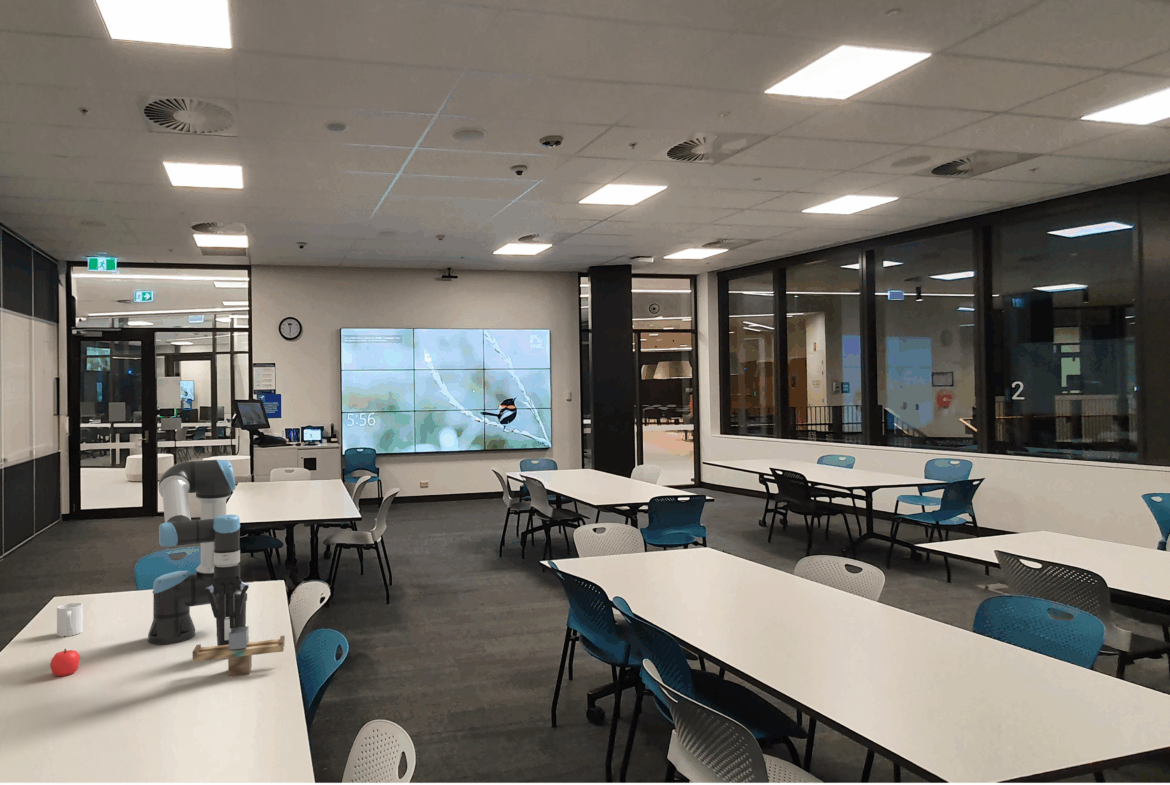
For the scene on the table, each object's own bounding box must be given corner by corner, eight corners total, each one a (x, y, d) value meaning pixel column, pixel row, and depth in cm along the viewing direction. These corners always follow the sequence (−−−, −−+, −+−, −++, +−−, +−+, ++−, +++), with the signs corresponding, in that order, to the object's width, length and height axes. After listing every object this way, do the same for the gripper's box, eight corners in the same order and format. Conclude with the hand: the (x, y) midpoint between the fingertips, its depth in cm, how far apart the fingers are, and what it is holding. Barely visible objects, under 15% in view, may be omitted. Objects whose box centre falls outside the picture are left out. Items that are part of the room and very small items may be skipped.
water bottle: (254, 650, 257) (253, 584, 257) (229, 660, 247) (228, 591, 248) (233, 646, 261) (233, 581, 261) (208, 656, 252) (207, 588, 252)
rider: (229, 656, 233) (228, 633, 233) (231, 649, 239) (231, 628, 239) (246, 654, 234) (246, 632, 235) (248, 647, 241) (248, 626, 241)
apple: (77, 667, 243) (77, 642, 243) (83, 673, 237) (82, 648, 237) (47, 673, 237) (47, 648, 237) (52, 680, 231) (52, 654, 231)
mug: (57, 632, 279) (57, 605, 279) (83, 629, 283) (82, 601, 283) (55, 641, 269) (55, 612, 269) (81, 637, 273) (81, 609, 273)
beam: (192, 681, 229) (192, 652, 229) (196, 672, 236) (196, 644, 236) (283, 670, 237) (283, 642, 237) (284, 662, 244) (284, 635, 244)
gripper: (202, 568, 230) (202, 644, 230) (248, 565, 234) (248, 640, 234) (206, 563, 237) (206, 637, 237) (250, 560, 241) (251, 632, 241)
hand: (227, 638), depth 236 cm, fingers closed
